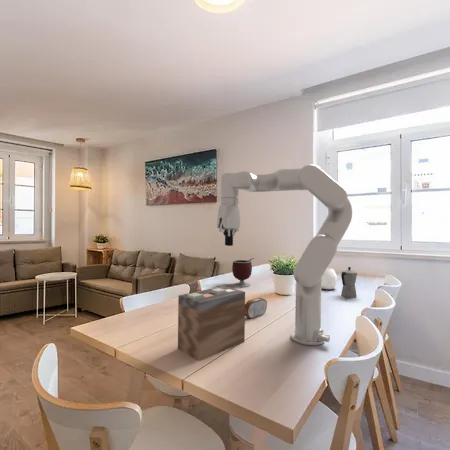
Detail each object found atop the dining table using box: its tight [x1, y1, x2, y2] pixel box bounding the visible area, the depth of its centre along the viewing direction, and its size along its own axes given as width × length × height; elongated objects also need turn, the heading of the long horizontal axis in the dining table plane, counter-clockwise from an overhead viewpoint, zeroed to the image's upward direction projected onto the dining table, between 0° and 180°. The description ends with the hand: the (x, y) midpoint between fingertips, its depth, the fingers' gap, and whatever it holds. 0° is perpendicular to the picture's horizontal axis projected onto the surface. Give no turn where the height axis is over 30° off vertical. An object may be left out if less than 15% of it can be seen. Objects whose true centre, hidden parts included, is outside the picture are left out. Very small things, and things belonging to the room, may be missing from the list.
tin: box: [245, 297, 268, 319], centre depth 140 cm, size 15×3×8 cm, turn 135°
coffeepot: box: [340, 266, 358, 299], centre depth 180 cm, size 15×9×18 cm, turn 129°
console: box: [177, 286, 246, 362], centre depth 107 cm, size 12×22×19 cm, turn 134°
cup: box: [321, 267, 338, 290], centre depth 201 cm, size 13×13×14 cm
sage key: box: [186, 292, 203, 300], centre depth 101 cm, size 4×4×2 cm
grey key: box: [210, 287, 226, 294], centre depth 109 cm, size 4×4×2 cm
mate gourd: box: [231, 257, 255, 288], centre depth 206 cm, size 16×14×20 cm
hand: (228, 245), depth 125 cm, fingers closed
